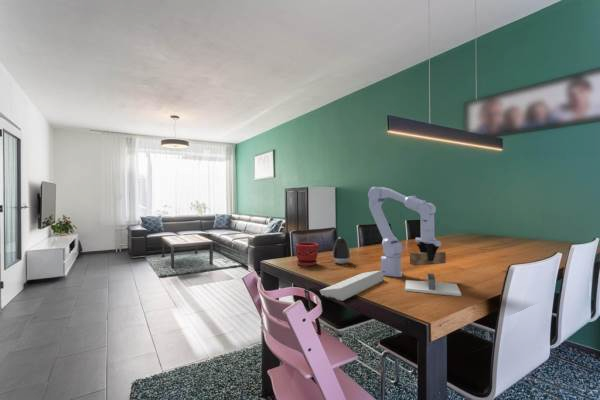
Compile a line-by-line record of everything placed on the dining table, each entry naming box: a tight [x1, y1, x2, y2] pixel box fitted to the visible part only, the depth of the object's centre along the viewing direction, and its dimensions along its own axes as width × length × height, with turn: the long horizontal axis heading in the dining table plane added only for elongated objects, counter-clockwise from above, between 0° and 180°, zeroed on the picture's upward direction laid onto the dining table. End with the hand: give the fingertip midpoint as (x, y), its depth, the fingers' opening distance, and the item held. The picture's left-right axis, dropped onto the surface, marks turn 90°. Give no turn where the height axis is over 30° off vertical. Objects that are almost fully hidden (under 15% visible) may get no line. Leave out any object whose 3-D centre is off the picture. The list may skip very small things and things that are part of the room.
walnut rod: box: [409, 250, 447, 267], centre depth 132 cm, size 16×4×5 cm, turn 105°
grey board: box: [404, 279, 462, 297], centre depth 121 cm, size 20×13×1 cm, turn 69°
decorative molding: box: [319, 269, 385, 302], centre depth 125 cm, size 34×5×10 cm
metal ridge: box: [427, 272, 436, 290], centre depth 121 cm, size 2×10×4 cm, turn 159°
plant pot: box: [295, 242, 319, 267], centre depth 169 cm, size 13×13×12 cm
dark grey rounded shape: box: [332, 236, 351, 265], centre depth 171 cm, size 10×10×15 cm
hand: (427, 260), depth 132 cm, fingers closed on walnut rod, 3 cm apart
